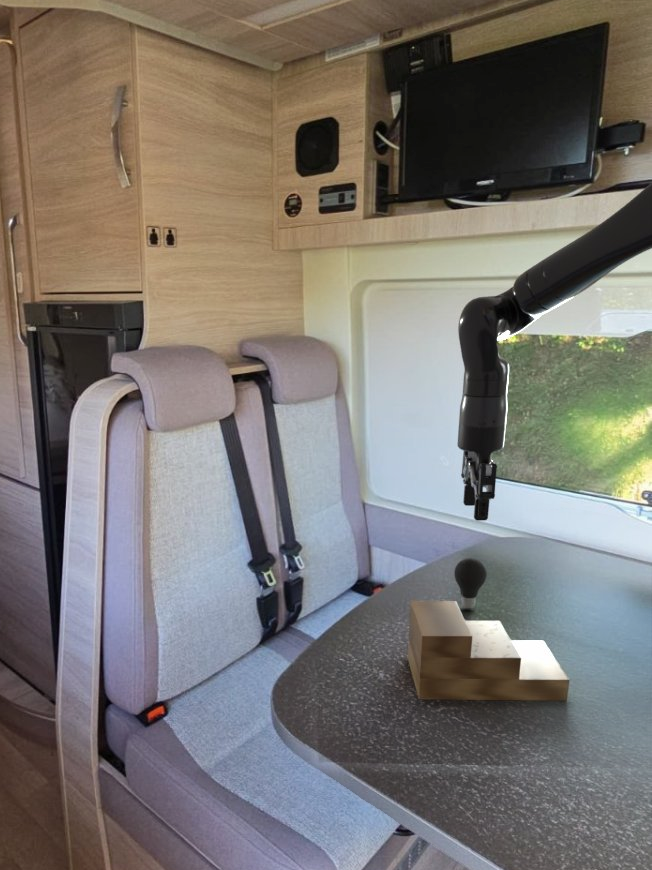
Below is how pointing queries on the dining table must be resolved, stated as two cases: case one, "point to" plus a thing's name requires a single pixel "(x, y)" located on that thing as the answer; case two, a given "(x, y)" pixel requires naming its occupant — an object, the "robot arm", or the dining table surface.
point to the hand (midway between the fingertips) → (474, 512)
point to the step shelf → (527, 688)
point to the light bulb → (470, 580)
